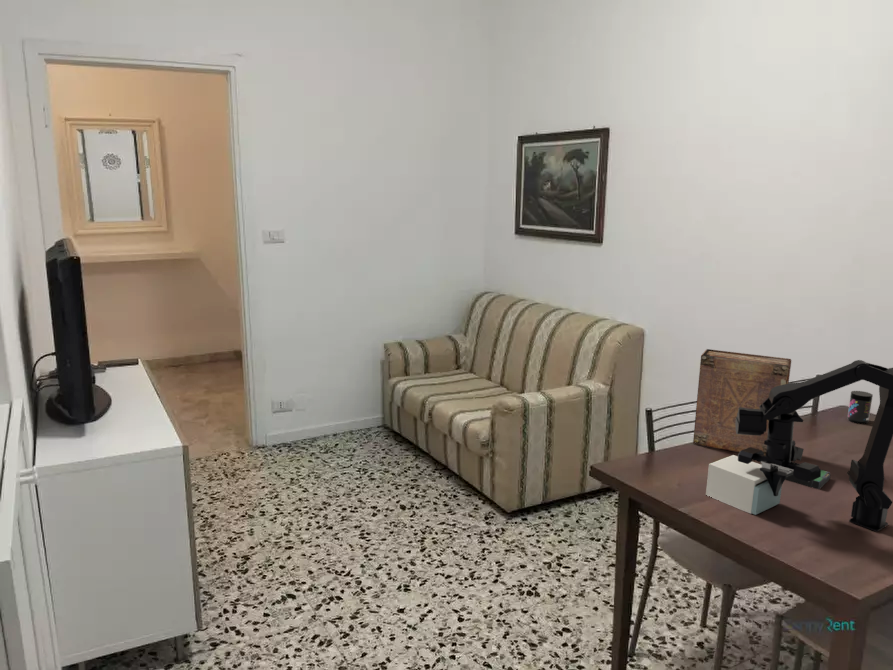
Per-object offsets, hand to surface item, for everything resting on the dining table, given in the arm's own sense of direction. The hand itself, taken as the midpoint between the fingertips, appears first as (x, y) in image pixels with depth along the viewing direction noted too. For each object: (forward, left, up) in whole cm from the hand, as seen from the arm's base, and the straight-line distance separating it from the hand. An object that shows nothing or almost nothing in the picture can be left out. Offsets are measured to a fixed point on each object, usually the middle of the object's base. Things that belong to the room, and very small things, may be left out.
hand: (775, 495), depth 173 cm
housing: (+9, 0, -5) cm, 10 cm away
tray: (+8, 0, -4) cm, 9 cm away
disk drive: (+8, -28, -5) cm, 30 cm away
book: (+31, -34, -5) cm, 47 cm away
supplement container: (+21, -95, -5) cm, 98 cm away
